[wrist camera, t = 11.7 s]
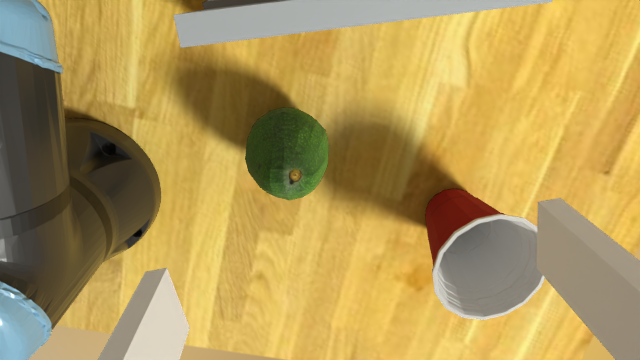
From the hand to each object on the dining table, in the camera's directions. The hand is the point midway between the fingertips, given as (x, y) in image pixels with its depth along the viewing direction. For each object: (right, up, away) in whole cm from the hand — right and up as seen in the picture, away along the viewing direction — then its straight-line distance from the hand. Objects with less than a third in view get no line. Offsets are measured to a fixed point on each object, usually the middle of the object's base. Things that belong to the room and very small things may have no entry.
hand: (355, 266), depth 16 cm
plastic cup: (+14, 0, +34) cm, 37 cm away
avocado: (-4, +8, +30) cm, 32 cm away
